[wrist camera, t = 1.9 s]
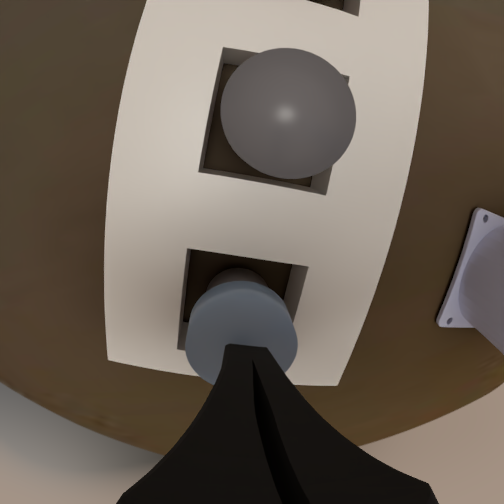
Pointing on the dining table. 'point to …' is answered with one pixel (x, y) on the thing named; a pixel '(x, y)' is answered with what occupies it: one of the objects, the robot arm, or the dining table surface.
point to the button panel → (256, 188)
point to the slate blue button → (238, 322)
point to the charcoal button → (288, 113)
